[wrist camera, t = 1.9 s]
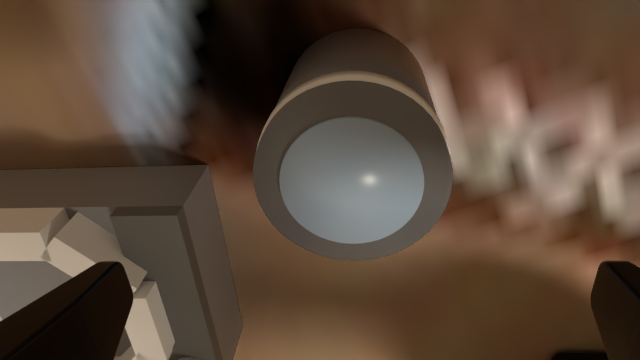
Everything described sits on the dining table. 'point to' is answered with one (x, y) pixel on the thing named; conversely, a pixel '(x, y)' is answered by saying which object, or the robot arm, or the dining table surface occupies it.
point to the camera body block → (126, 251)
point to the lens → (354, 150)
